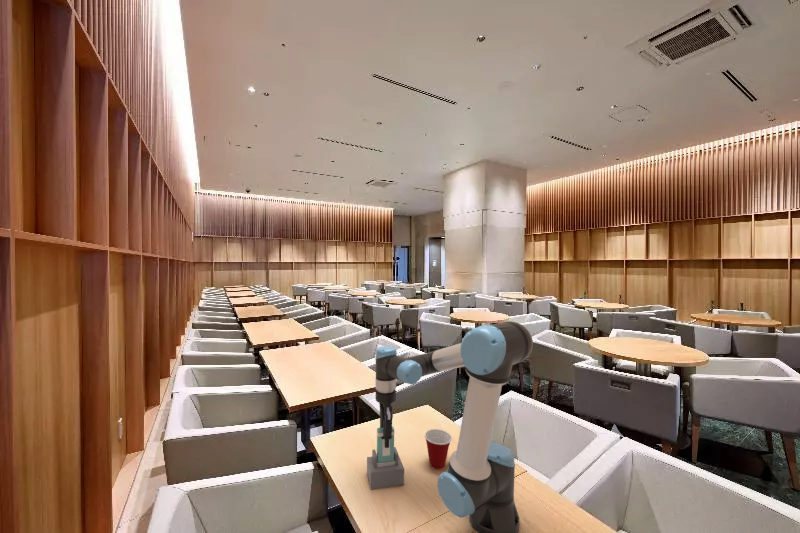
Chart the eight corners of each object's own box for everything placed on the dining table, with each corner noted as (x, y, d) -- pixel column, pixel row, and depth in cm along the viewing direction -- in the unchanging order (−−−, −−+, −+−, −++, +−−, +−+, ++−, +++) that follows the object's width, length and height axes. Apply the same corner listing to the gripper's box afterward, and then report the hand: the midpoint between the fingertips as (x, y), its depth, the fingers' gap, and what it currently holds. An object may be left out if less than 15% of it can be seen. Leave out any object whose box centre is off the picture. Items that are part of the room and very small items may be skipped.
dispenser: (403, 485, 127) (404, 457, 127) (370, 489, 124) (371, 461, 124) (397, 468, 137) (398, 443, 137) (366, 472, 134) (367, 446, 134)
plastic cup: (441, 477, 132) (441, 445, 132) (418, 465, 139) (418, 435, 139) (457, 464, 140) (457, 434, 140) (434, 454, 147) (435, 425, 147)
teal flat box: (394, 461, 130) (394, 429, 130) (377, 463, 129) (377, 431, 128) (392, 458, 132) (393, 426, 132) (376, 460, 131) (376, 428, 131)
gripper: (400, 396, 123) (400, 463, 124) (391, 381, 138) (391, 441, 139) (379, 398, 122) (378, 466, 122) (372, 383, 136) (372, 443, 137)
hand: (385, 452), depth 130 cm, fingers closed on teal flat box, 2 cm apart
